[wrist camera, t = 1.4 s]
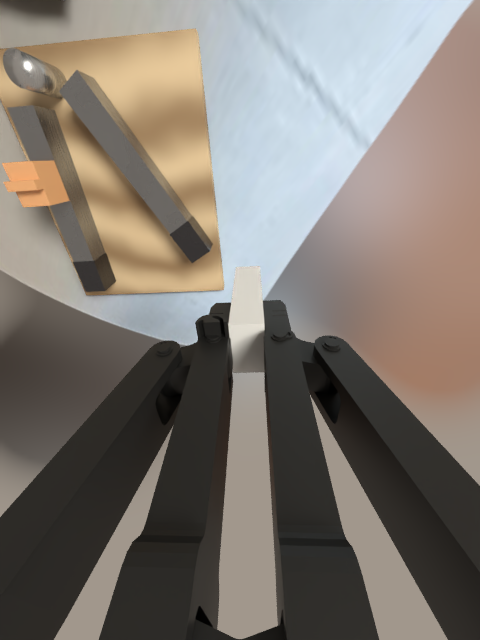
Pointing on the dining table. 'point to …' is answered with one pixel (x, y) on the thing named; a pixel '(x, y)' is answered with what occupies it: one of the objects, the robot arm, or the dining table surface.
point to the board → (156, 138)
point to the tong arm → (134, 163)
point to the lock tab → (35, 183)
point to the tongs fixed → (58, 166)
